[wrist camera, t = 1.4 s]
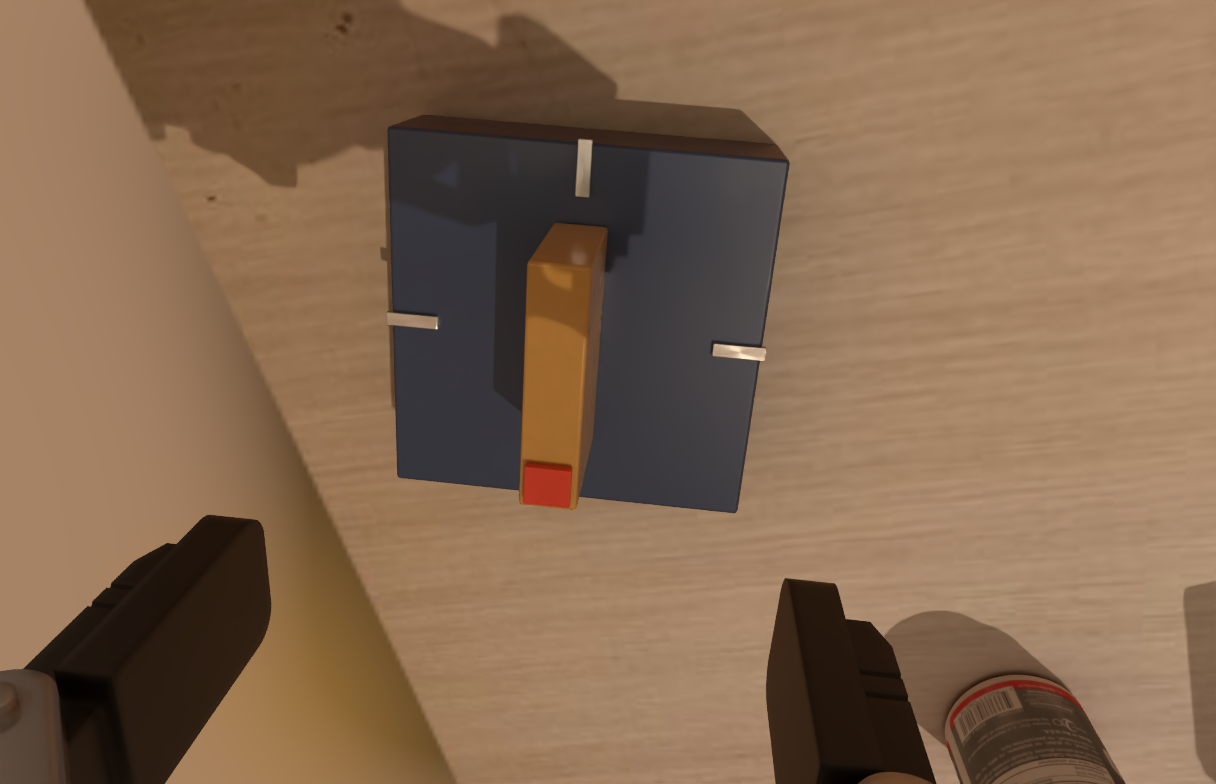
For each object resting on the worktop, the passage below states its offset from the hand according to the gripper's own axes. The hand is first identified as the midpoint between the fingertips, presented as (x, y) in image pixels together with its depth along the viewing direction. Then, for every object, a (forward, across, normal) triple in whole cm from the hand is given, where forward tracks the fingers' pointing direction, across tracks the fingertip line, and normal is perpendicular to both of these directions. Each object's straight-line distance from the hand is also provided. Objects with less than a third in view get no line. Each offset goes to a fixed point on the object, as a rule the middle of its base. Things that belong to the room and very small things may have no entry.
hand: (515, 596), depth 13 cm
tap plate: (+14, 0, 0) cm, 14 cm away
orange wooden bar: (+11, 0, 0) cm, 11 cm away
